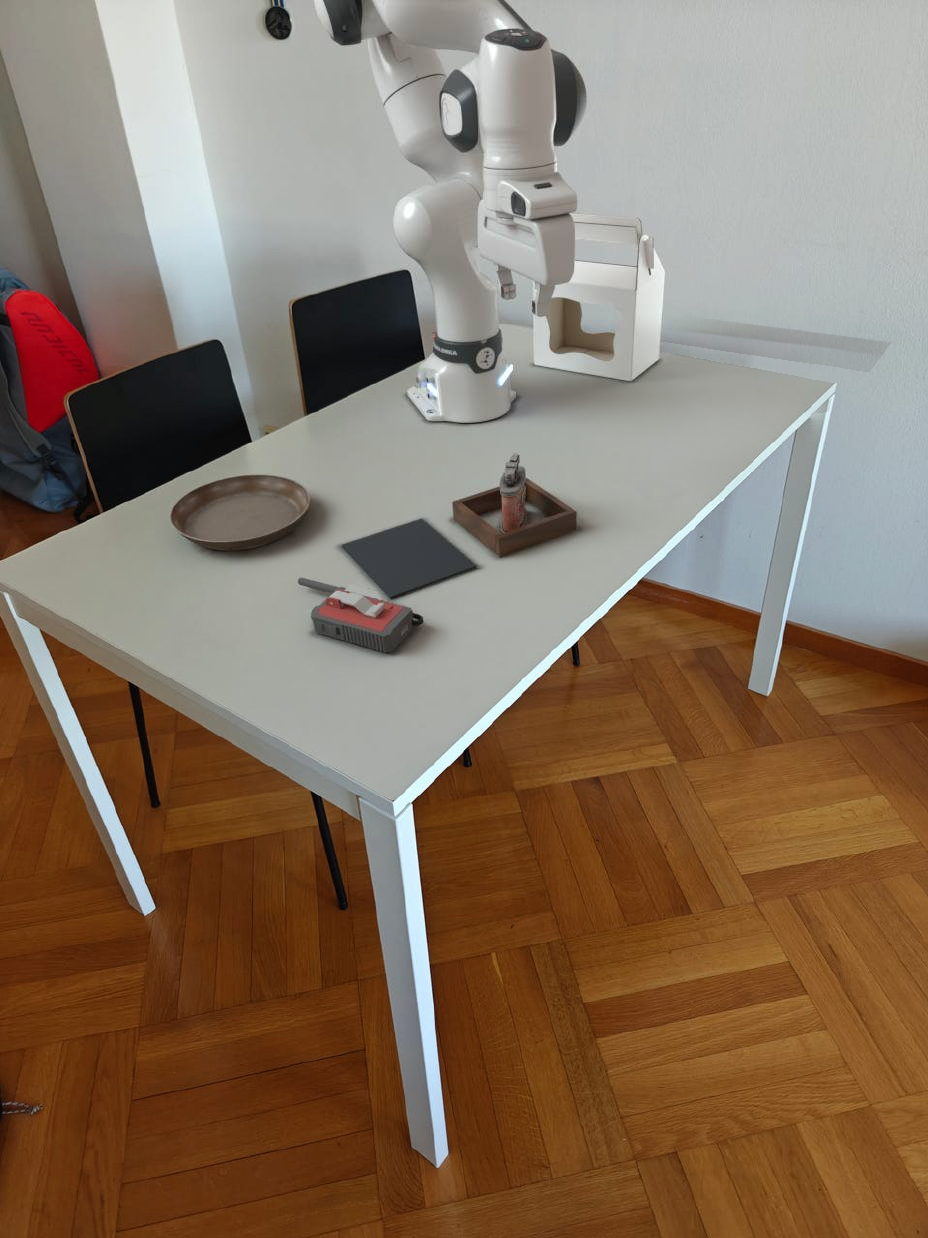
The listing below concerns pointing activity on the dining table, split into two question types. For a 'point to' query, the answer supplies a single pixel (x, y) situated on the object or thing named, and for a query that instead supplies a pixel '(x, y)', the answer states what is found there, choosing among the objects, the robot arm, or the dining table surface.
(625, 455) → the dining table surface
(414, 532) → the mat
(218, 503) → the plant saucer
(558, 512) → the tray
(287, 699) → the dining table surface
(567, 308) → the gable box
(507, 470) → the lighter
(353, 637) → the walkie-talkie
